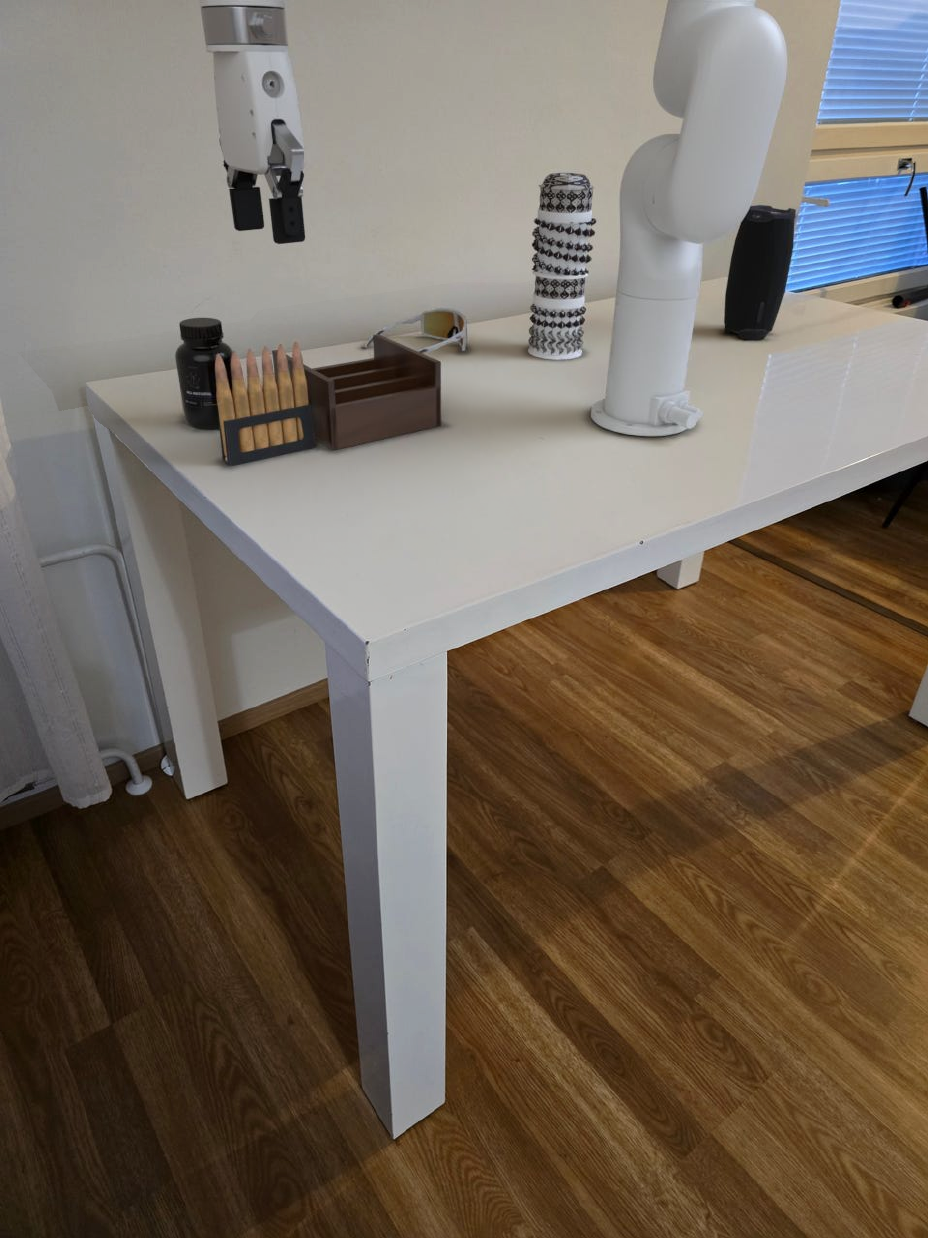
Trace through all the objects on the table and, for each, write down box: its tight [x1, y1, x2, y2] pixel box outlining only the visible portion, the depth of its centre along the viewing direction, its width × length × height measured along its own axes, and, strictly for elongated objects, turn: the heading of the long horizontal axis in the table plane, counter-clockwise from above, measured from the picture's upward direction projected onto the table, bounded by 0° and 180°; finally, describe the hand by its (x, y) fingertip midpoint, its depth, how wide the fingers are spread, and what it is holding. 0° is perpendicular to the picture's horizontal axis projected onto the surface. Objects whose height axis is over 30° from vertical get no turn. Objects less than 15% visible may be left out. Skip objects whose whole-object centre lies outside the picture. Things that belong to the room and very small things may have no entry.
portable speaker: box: [723, 204, 797, 341], centre depth 139 cm, size 9×9×20 cm
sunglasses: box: [364, 307, 468, 354], centre depth 133 cm, size 14×15×5 cm
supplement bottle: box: [174, 317, 234, 430], centre depth 102 cm, size 7×7×12 cm
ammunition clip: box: [215, 341, 317, 467], centre depth 93 cm, size 11×2×12 cm, turn 125°
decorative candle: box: [527, 172, 597, 361], centre depth 127 cm, size 9×9×25 cm
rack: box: [271, 333, 442, 451], centre depth 104 cm, size 15×15×8 cm
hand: (269, 235), depth 87 cm, fingers open, 9 cm apart
